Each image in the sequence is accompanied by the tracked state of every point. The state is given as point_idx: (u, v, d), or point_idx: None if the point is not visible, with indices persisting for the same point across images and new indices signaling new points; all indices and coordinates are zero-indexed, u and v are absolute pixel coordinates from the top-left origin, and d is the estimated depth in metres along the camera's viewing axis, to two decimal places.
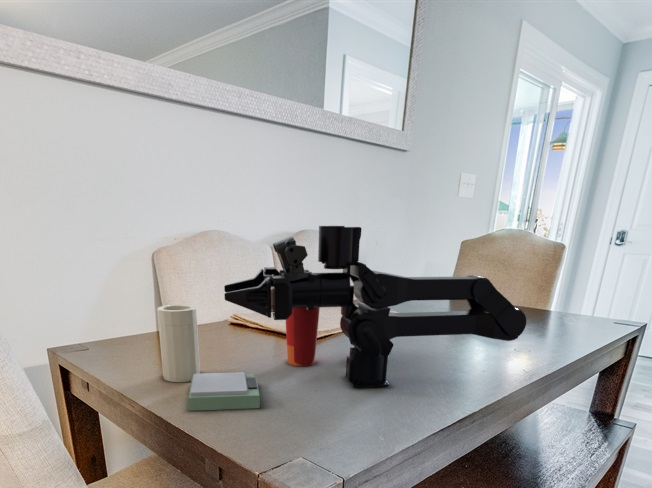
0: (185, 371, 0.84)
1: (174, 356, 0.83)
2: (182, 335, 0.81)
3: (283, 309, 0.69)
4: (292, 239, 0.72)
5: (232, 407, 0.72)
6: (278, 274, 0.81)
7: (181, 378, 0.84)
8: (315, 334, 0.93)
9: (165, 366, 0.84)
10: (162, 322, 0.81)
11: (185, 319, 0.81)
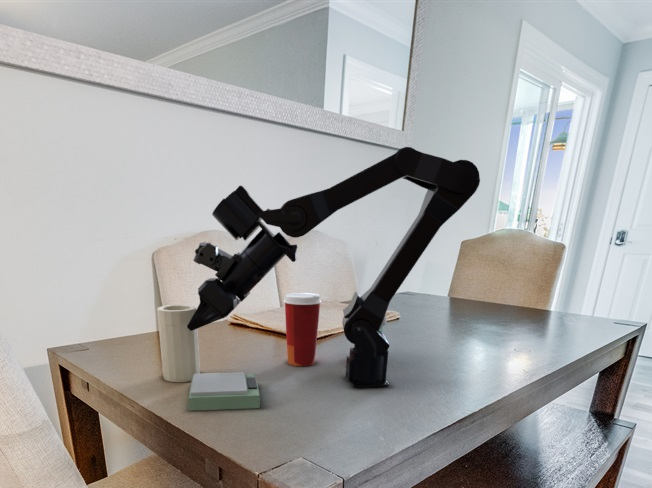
0: (185, 371, 0.84)
1: (174, 356, 0.83)
2: (182, 335, 0.81)
3: (223, 304, 0.72)
4: (199, 245, 0.77)
5: (232, 407, 0.72)
6: None
7: (181, 378, 0.84)
8: (315, 334, 0.93)
9: (165, 366, 0.84)
10: (162, 322, 0.81)
11: (185, 319, 0.81)
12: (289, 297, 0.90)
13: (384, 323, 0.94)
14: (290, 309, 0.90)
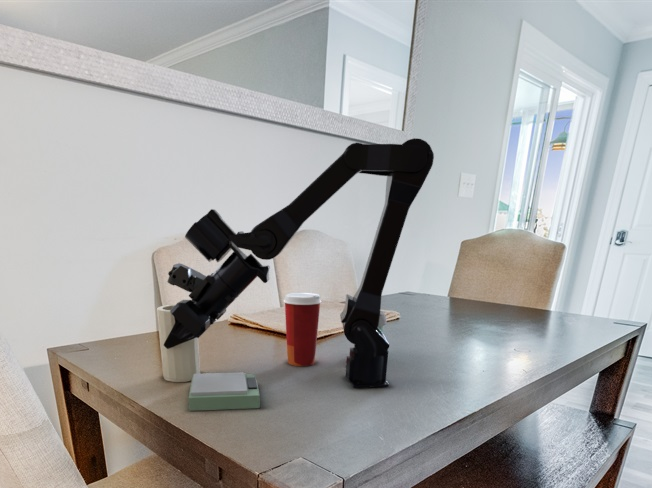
0: (185, 371, 0.84)
1: (174, 356, 0.83)
2: None
3: (195, 326, 0.74)
4: (173, 267, 0.78)
5: (232, 407, 0.72)
6: None
7: (181, 378, 0.84)
8: (315, 334, 0.93)
9: (165, 366, 0.84)
10: (162, 322, 0.81)
11: None
12: (289, 297, 0.90)
13: (384, 323, 0.94)
14: (290, 309, 0.90)
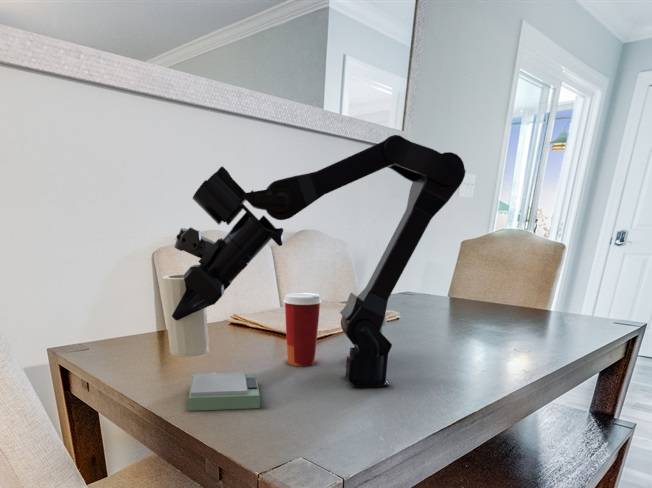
0: (195, 345, 0.78)
1: (183, 328, 0.77)
2: None
3: (210, 291, 0.69)
4: (180, 230, 0.73)
5: (232, 407, 0.72)
6: None
7: (191, 352, 0.79)
8: (315, 334, 0.93)
9: (173, 340, 0.78)
10: (169, 291, 0.75)
11: None
12: (289, 297, 0.90)
13: (384, 323, 0.94)
14: (290, 309, 0.90)
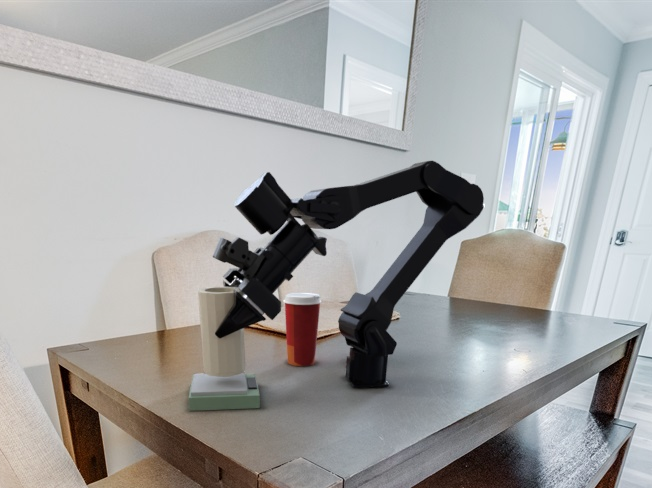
0: (237, 363, 0.73)
1: (226, 346, 0.71)
2: None
3: (271, 306, 0.64)
4: (224, 240, 0.66)
5: (232, 407, 0.72)
6: (239, 272, 0.76)
7: (233, 371, 0.73)
8: (315, 334, 0.93)
9: (212, 359, 0.72)
10: (211, 307, 0.69)
11: None
12: (289, 297, 0.90)
13: None
14: (290, 309, 0.90)
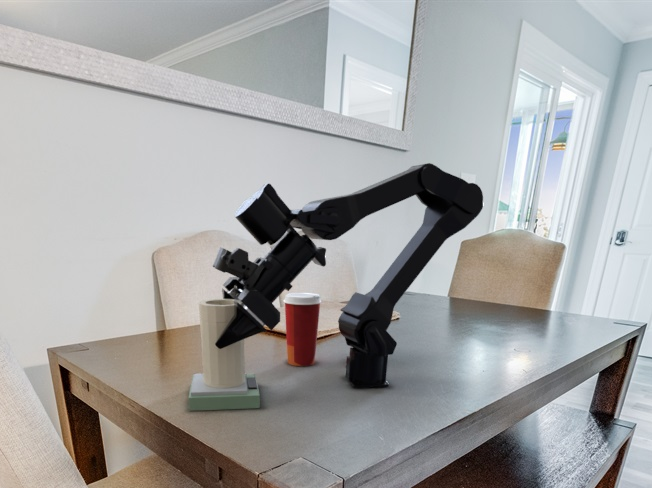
0: (237, 374, 0.73)
1: (226, 358, 0.71)
2: None
3: (270, 316, 0.65)
4: (224, 250, 0.67)
5: (232, 407, 0.72)
6: (238, 281, 0.76)
7: (233, 383, 0.73)
8: (315, 334, 0.93)
9: (213, 371, 0.72)
10: (212, 319, 0.69)
11: None
12: (289, 297, 0.90)
13: None
14: (290, 309, 0.90)
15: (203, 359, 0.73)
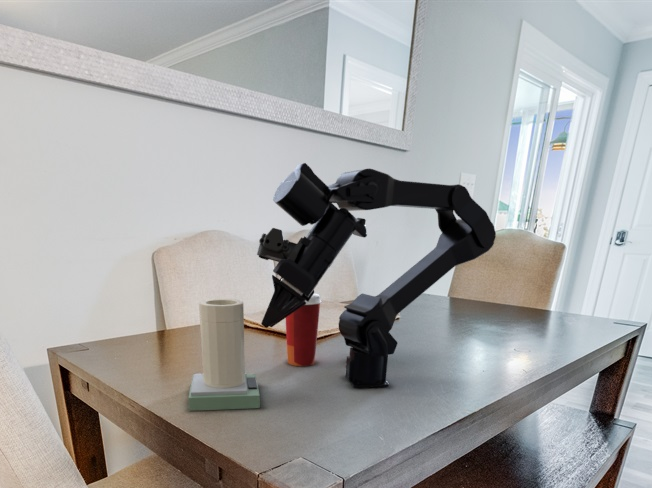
0: (237, 374, 0.73)
1: (226, 358, 0.71)
2: (235, 333, 0.71)
3: (303, 281, 0.65)
4: (262, 235, 0.71)
5: (232, 407, 0.72)
6: None
7: (233, 383, 0.73)
8: (315, 334, 0.93)
9: (213, 371, 0.72)
10: (212, 319, 0.69)
11: (238, 314, 0.70)
12: None
13: None
14: None
15: (203, 359, 0.73)
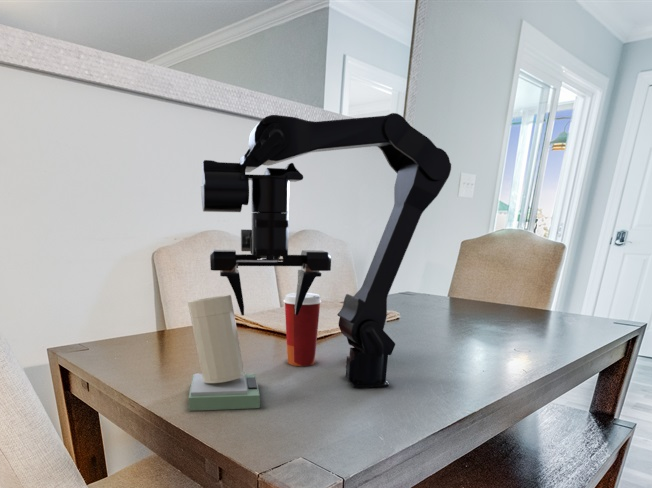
0: (234, 367, 0.73)
1: (221, 351, 0.72)
2: (226, 325, 0.71)
3: None
4: None
5: (232, 407, 0.72)
6: (301, 253, 0.75)
7: (231, 375, 0.73)
8: (315, 334, 0.93)
9: (210, 366, 0.72)
10: (201, 314, 0.70)
11: (227, 306, 0.71)
12: (289, 297, 0.90)
13: None
14: (290, 309, 0.90)
15: (199, 357, 0.74)
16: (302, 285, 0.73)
